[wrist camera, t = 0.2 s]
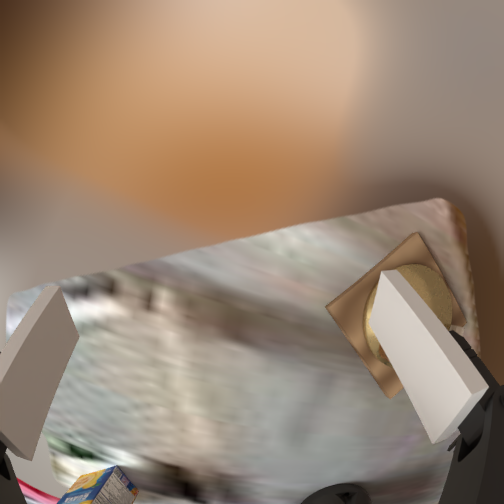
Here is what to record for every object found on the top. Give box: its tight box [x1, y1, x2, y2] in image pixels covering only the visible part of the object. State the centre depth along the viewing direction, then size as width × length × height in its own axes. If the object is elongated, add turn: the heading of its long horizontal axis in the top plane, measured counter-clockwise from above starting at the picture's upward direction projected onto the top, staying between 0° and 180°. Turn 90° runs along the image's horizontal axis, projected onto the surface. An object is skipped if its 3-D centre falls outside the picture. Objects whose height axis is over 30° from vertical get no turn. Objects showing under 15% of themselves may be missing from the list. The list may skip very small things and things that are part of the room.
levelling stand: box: [325, 232, 467, 399], centre depth 44 cm, size 20×20×5 cm
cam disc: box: [363, 264, 452, 368], centre depth 38 cm, size 17×17×14 cm
